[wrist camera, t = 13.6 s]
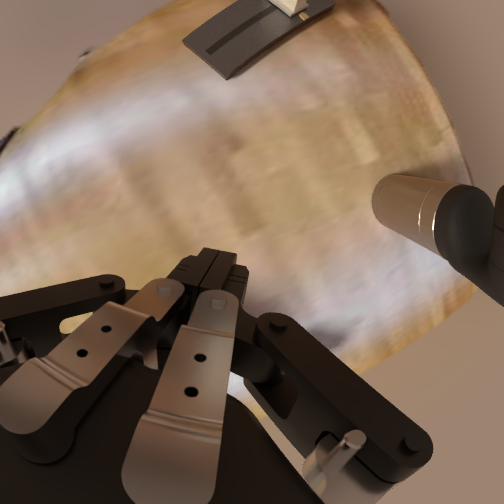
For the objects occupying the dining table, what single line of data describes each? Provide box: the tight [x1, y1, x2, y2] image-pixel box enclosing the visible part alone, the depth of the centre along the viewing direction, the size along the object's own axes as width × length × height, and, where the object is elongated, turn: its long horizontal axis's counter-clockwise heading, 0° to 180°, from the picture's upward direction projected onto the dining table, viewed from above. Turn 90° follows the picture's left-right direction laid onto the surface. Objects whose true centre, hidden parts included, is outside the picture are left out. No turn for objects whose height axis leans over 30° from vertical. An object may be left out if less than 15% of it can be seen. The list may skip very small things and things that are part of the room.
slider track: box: [182, 0, 336, 80], centre depth 31 cm, size 24×10×2 cm, turn 133°
